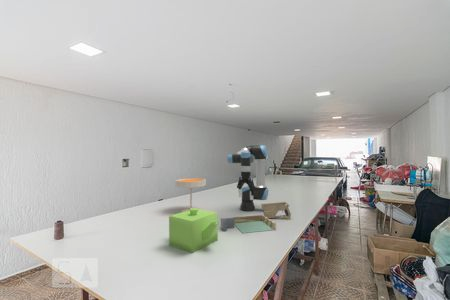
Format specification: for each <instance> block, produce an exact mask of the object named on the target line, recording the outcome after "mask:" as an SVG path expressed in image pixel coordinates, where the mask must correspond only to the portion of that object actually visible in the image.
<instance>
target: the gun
mask: <svg viewBox="0 0 450 300" xmlns="http://www.w3.org/2000/svg"><path fill="white" fill-rule="evenodd" d="M260 205H261V210H263V215H264V216H265V217H267V218H268V219H270V220H271V219H278V218H279V219H280V218H282V219H285V220H286V219H287V220H290V219H291V217H292V212H291V211H290V209H289V207H290V204H289V203H287V201H275V202H265V203H264V202H263V203H260ZM280 211H281V213H284V214H281V215H277V214H278V212H280Z"/></svg>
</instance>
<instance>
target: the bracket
mask: <svg viewBox="0 0 450 300" xmlns="http://www.w3.org/2000/svg"><path fill="white" fill-rule="evenodd" d="M233 228H235V225H234V218H233V217H225V218H220V229H221V230H222V231H223V232H226V231H228V229H233Z"/></svg>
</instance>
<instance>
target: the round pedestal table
mask: <svg viewBox="0 0 450 300" xmlns="http://www.w3.org/2000/svg"><path fill="white" fill-rule="evenodd" d="M206 185H207V180H206V179H205V178H202V177H201V178H200V177H199V178H198V177H193V178H191V177H188V178H178V179H175V187H176V188H189V206H190V208H185V209H182V210H180V213H181V212H185V211H188V210H189V209H191V208H193V207H192V206H193V205H192V204H193V201H192V200H193V196H192V195H193V194H192V191H193V190H192V189H193V188H201V187H206Z"/></svg>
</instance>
